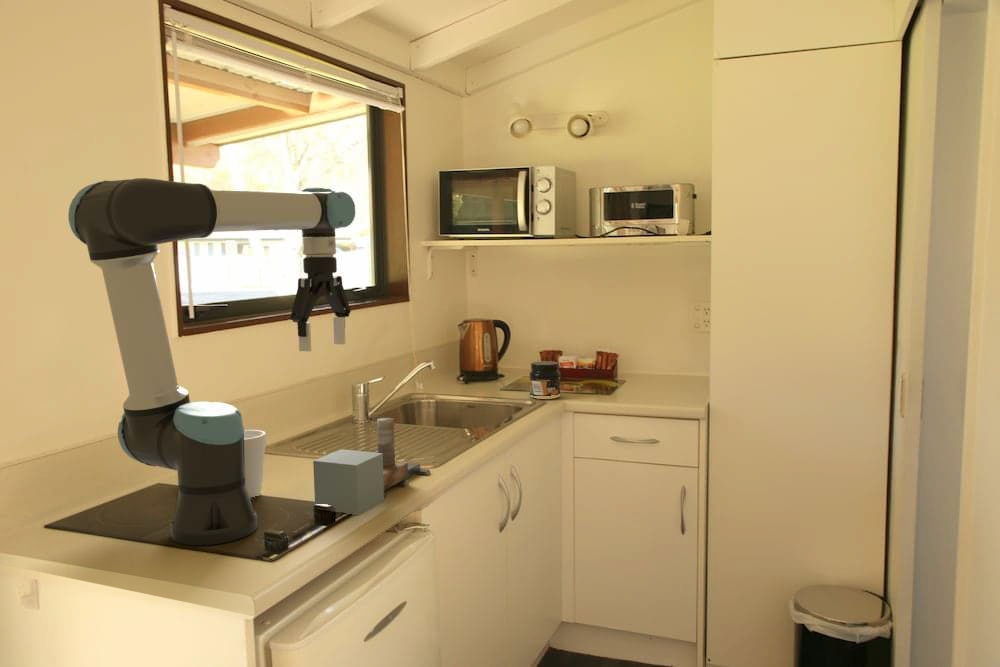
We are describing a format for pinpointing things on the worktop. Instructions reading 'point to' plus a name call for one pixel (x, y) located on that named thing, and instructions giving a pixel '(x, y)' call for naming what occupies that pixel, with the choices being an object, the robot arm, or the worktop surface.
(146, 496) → the worktop surface
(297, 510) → the worktop surface
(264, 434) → the foam cup
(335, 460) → the grey box
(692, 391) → the worktop surface
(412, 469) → the rail
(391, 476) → the grey peg on base
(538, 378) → the supplement container
